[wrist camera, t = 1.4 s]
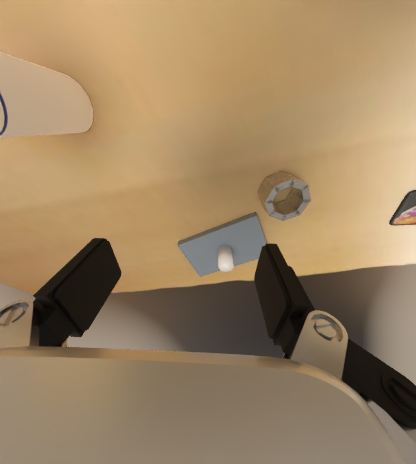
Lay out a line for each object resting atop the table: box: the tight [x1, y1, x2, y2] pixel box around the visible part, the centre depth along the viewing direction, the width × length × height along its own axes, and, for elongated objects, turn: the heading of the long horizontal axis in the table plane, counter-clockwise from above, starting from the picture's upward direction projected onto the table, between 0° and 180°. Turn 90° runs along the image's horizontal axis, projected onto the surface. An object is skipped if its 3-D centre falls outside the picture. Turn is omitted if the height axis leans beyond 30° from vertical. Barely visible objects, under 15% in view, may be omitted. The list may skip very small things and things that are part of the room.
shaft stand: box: [178, 212, 267, 277], centre depth 35 cm, size 18×11×6 cm, turn 115°
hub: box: [258, 171, 311, 221], centre depth 28 cm, size 7×7×5 cm
